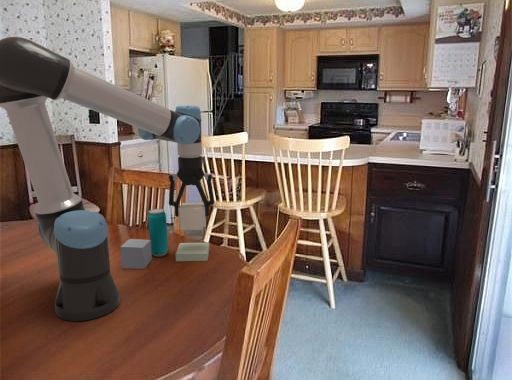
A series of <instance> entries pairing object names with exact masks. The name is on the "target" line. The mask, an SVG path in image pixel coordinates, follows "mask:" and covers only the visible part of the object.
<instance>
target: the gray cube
mask: <svg viewBox="0 0 512 380" xmlns="http://www.w3.org/2000/svg"><path fill="white" fill-rule="evenodd" d="M119 247H120V260H121V268H122V269H135V270H145V269H146V268H147V266H149V264H150V263H151V262H152V261H153V256H152V255H153V254H152V252H151V240H150V239H140V238H139V239H138V238H137V239H136V238H129V239H128V240H126V242H124V243H123V244H122V245H121V246H119Z"/></svg>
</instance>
